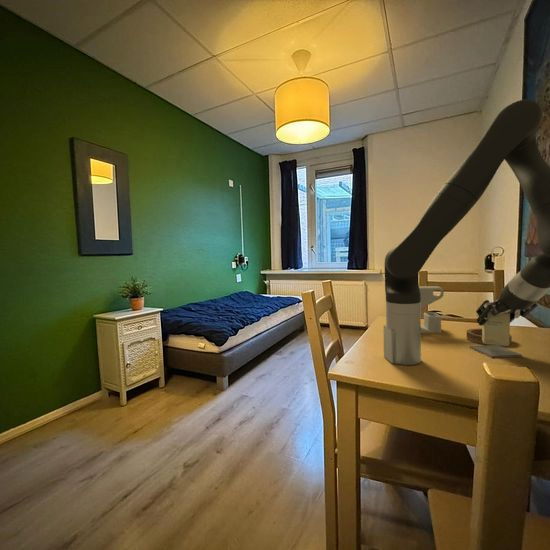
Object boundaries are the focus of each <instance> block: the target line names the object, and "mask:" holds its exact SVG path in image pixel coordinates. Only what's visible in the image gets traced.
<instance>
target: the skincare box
mask: <svg viewBox="0 0 550 550" xmlns="http://www.w3.org/2000/svg"><path fill="white" fill-rule="evenodd" d="M493 310H494V311H495V313H497V310H496V309H495V307H494V308H493ZM490 314H491V312H489V313H488V315H490ZM510 326H511V322H510V313H504V314H502V315H500V316H497V317H492V318H490V319H489V320H488V321H487V322H486V323H485V324H484V325H482V326H481V327H482V328H481V329H482V341H483V342H484V343H485V344H493V345H502V347H509V346H510V345H509V334H511V332H510V331H511V330H510ZM485 344H484V345H485Z"/></svg>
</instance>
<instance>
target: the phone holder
mask: <svg viewBox="0 0 550 550" xmlns="http://www.w3.org/2000/svg"><path fill="white" fill-rule="evenodd" d="M419 290H420V293H421V312H422V310H423V309H424V308H425V307H427V306H430V305H431V304H434V303H435V302H437V301H439V300H441V299H442V298H443V297H444V292H445V291H444V290H443V288H442V287H441V286H437V285H434V286H433V285H427V286H425V285H424V286H423V285H422V286H420V285H419ZM437 290H438V291H440V293H438V294H437V295H435V294H434V292H435V291H437ZM441 333H443V332H442V316H441V315H439V313H436V312H433V311H425V312H423V324H421V334H441Z"/></svg>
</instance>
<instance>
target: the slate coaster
mask: <svg viewBox="0 0 550 550" xmlns="http://www.w3.org/2000/svg"><path fill="white" fill-rule="evenodd" d="M469 348H470V349H471V348H472V350H473V349H474V350H473V351H476V352H477V353H480V352H481V353H480V354H482V353H483V354H482V355H484V354H486V355H488V356H490V357H495V358H517V357H518V358H521V357H523V354H522V353H519V352H517V351H515V350H514V351H513V350H511V349H509V348H507V347H505V346H499V345H485V344H483V345H470V346H469ZM486 355H485V356H486ZM488 356H487V357H488ZM490 357H489V358H490Z"/></svg>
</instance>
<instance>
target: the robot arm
mask: <svg viewBox="0 0 550 550" xmlns="http://www.w3.org/2000/svg"><path fill="white" fill-rule="evenodd" d="M542 111H543V110H542V107H541V106H540V104H539V103H538V102H537V101H536V100H534V99H521V100H520V99H519V100H516V101H514V102H512V103H510V104H509V105H507V106H505V107H504V108H503V109H502V110H501V111H499V112H498V113H497V114H496V116H495V118H494V119H493V121H492V122H491V124H490V125H489V127H488V129H487V130H486V132H485V133H484V134H483V136H482V138H481V139H480V140H479V142H478V143H477V145H476V146H475V148H474V149H473V150H472V151H471V152H470V153H469V154H468V156H467V157H465V159H464V161H462V162H461V164H460V165H459V166H458V167H457V168H456V170H455V171H454V172H453V174H452V175H451V176H450V177H449V178H448V179H447V180H446V181H445V182H444V184H443V185H442V186H441V188H440V189H439V190H438V192H437V193H435V195H434V196H433V198H432V199H431V200H430V202H429V204H428V205H427V207H426V208H425V210H424V212H423V214H422V216H421V218H420V219H419V221H418V222H417V224H416V226H415V227H414V228H413V230H411V232H410V233H409V234H408V235H407V236H406V237H405V238H404V239H403V240H402V241H401V242H400V243H399V244H398V245H397V246H395V247H393V248H391V249H390V250H389V251H388V252H387V253H386V255H385V257H384V290H385V291H384V292H385V325H383V357H384V358H385V359H387V361H389V362H390V363H391V364H396V365H405V366H414V365H419V364H420V363H421V361H422V353H421V351H422V349H421V347H422V343H421V342H422V337H421V336H422V335H421V334H422V333H421V325H422V324H421V323H422V322H421V319H422V311H421V293H420V290H419V286H420V285H419V284H420V283H419V272H420V271H421V270H422V269H423V267H424V265H425V264H426V262H427V261H428V260H429V258H430V256H431V255H432V254H433V253H434V251H435V250H436V248H437V247H438V245H439V244H440V243H441V242H442V240H443V239H444V238H446V236H447V235H449V233H451V232H452V230H454V228H455V227H456V226H457V225H458V224H459V223H460V222H461V221H462V220H463V219H464V217H466V215H468V213H469V212H470V211H471V210H472V208H473V207H474V206H475V205H476V203H477V202H478V201H479V200H480V199H481V197H482V196H483V195H484V193H485V192H486V190H487V188H488V187H489V185H490V183H491V182H492V181H493V178H494V177H495V175H496V173H497V172H498V170H499V169H500V167H501V165H502V163H503V162H504V161H505V162H506V163H507V165H508V166H509V168H510V169H511V170H512V172H513V174H514V176H515V177H516V179H517V180H518V183H519V185H520V186H521V187H520V188H521V189H522V191H523V193H524V195H525V197H526V200H527V203H528V204H529V206H530V208H531V210H532V214H533V215H534V216H535V221H536V225H535V226H536V233H537V242H538V246H539V249H540V250H541V252H542V253H541V254H538V255H535V256H534V257H532V258H531V259H530V260H529V261H528V262H527V263H526V265H524V267H523V268H522V269H521V270H520V271H518V272H517V273H516V274H514V276H513V277H512V278H511V279H510V281H508V283H507V284H506V285H505V286H504V287H503V288H502V289H501V290H500V294H499V297H498V298H497V299H496V300H494V301H493V302H492V301H491V302H490V300H488V299H486V300H484V301H483V302H482V303H481V304H480V306H479V307H478V308H477V309H476V311H475V313H476V314H477V315H478V317H477V318H476V322H477V323H478V326H480V327H482V325H484V324H485V323H486V322H487V321H488V320H489V319H490V318H492V317H497V316H500V315H502V314H504V313H510V323H512V322H513V321H515V319H518V318H520V316H521V317H522V318H525V317H527V316H528V315H529V314H530V313H531V312H532V311H533V310H535V309H536V308H537V307H538V304H537V302H538V301H540V299H541V298H542V297H544V296H545V295H546V294H547V293H548V292H549V290H550V164H548V162H547V161H545V159H544V157H543V155H542V153H541V152H540V149H539V145H538V142H537V136H536V135H537V133H538V130H539V129H540V128H539V127H540V126H541V123H542V117H543V116H542V115H543V112H542ZM494 307H495V309H496V310H497V313H495V311H494V310H493V308H494ZM489 312H491V314H490V315H488V313H489Z"/></svg>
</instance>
